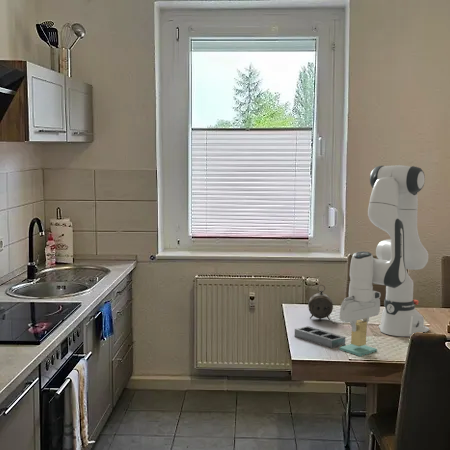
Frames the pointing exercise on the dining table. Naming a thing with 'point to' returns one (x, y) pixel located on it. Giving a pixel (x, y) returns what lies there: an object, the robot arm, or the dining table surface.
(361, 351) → the teal board
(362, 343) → the brass peg
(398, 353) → the dining table surface
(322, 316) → the alarm clock
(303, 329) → the grey peg holder tray
